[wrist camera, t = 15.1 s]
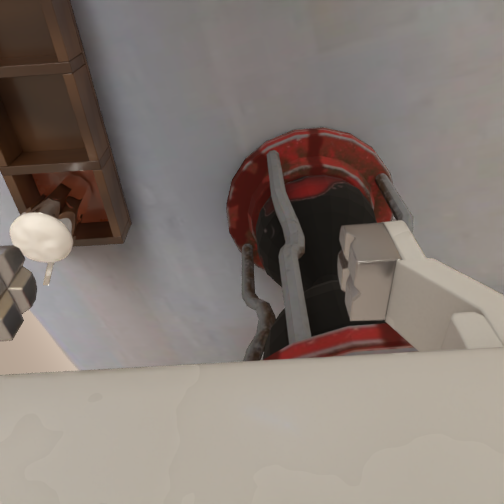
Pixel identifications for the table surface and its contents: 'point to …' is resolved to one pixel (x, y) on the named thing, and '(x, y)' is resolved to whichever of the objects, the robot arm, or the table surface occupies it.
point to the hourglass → (310, 240)
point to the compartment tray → (54, 117)
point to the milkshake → (52, 222)
